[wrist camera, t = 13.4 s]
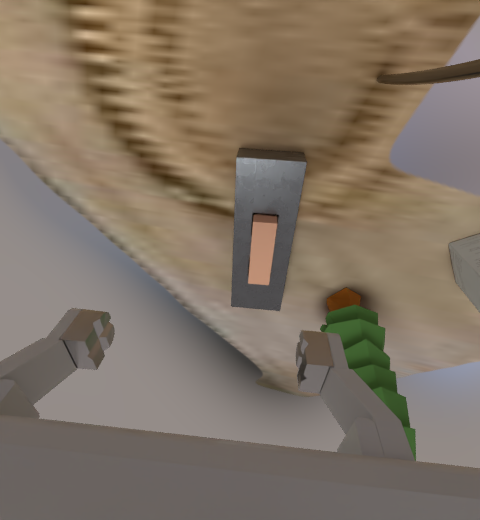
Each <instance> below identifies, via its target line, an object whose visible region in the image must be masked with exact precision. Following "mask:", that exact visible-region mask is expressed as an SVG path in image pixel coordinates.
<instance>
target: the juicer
mask: <svg viewBox="0 0 480 520" xmlns="http://www.w3.org/2000/svg"><path fill="white" fill-rule="evenodd" d="M477 77H480V59H479V60H474V61H471V62H466V63H461V64H456V65H451V66H446V67H441V68H436V69H430V70H424V71H417V72H410V73H401V74H387V75H380V76H378V78H377V82H378V83H384V84H394V85H421V84H434V83H443V82H451V81H458V80H465V79H471V78H477Z"/></svg>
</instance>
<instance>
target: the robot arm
mask: <svg viewBox="0 0 480 520" xmlns="http://www.w3.org/2000/svg"><path fill="white" fill-rule="evenodd" d="M109 320H110V315H109V313H108V312H102V311H94V310H86V309H76V308H72V309H70V310H68V311H67V313H66V314H65V315H64V317H63V318H62V319H61V320H60V321H59V323H58V324H57V325H56V327H55V328H54V329H53V330H52V331H51V333H50V334H49V335H48V336H47V338H42V339H40V340H38V341H36V342H35V343H33V344H31V345H29V346H28V347H26V348H24V349H22V350H20V351H19V352H17V353H15V354H13V355H11V356H10V357H8V358H6V359H4V360H2V361H1V362H0V520H480V468H472V467H463V466H455V465H446V464H437V463H427V462H418V461H415V459H414V456H413V454H412V451H411V448H410V445H409V442H408V440H407V437H406V434H405V431H404V429H403V426H402V423H401V421H400V420H399V419H398V418H397V416H396V415H395V414H394V413H393V412H392V411H391V410H390V409H389V408H388V407H387V406H386V405H385V404H384V403H383V401H382V400H381V399H380V398H379V397H378V396H377V395H376V394H375V393H374V392H373V391H372V390H371V389H370V388H369V387H368V385H367V384H366V383H365V382H364V381H363V380H362V379H361V378H360V377H359V376H358V375H357V374H356V373H355V372H354V370H353V369H349V368H348V364H347V360H346V357H345V353H344V349H343V345H342V341H341V337H340V335H339V334H337V333H325V332H316V331H304V330H302V331H301V332H300V336H299V337H300V342H298V344H297V348H296V366H297V367H298V368H299V371H298V374H297V379H298V389H299V391H303V392H311V393H318V394H320V396H321V397H322V399H323V401H324V402H325V404H326V405H327V407H328V408H329V410H330V411H331V413H332V414H333V416H334V417H335V419H336V420H337V422H338V423H339V425H340V427H341V428H342V430H343V431H344V433H345V434H346V436H345V438H344V439H343V441H342V443H341V444H340V446H339V448H338V449H337V452H330V451H321V450H312V449H303V448H294V447H285V446H277V445H268V444H259V443H251V442H242V441H233V440H224V439H215V438H207V437H198V436H189V435H180V434H171V433H163V432H153V431H145V430H136V429H127V428H118V427H109V426H100V425H92V424H83V423H74V422H65V421H56V420H47V419H39V413H38V411H37V410H36V409H35V407H34V406H33V405H34V404H35V403H36V402H37V401H38V400H40V399H41V398H42V397H43V396H45V395H46V394H47V393H48V392H50V391H51V390H52V389H53V388H54V387H56V386H57V385H58V384H59V383H61V382H62V381H63V380H64V379H66V378H67V377H68V376H69V375H70V374H72V373H73V372H74V371H75V370H77V369H76V368H81V369H93V370H97V369H98V367H99V365H100V363H101V361H102V360H103V358H104V356H105V355H104V350H106V349H107V348H109V347H110V345H111V343H112V341H113V338H114V326H113V325H112V324H111V323H110V322H109Z"/></svg>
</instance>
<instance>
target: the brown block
mask: <svg viewBox="0 0 480 520" xmlns="http://www.w3.org/2000/svg"><path fill="white" fill-rule="evenodd" d="M276 230H277V216H274V214H263V213H256V215H255V214H254V216H253V227H252V240H251V252H250V265H249V277H248V284H260V285H269V281H270V273H271V266H272V259H273V252H274V244H275V237H276Z"/></svg>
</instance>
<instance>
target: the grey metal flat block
mask: <svg viewBox="0 0 480 520" xmlns="http://www.w3.org/2000/svg"><path fill="white" fill-rule="evenodd" d="M306 164H307V161H306V158H305V156H304V153H303V152H289V151H274V150H260V149H245V148H239V151H238V155H237V160H236V188H235V215H234V243H233V270H232V298H231V306H232V307H243V308H253V309H264V310H275V311H280V308H281V302H282V297H283V291H284V286H285V280H286V275H287V269H288V264H289V258H290V252H291V247H292V241H293V236H294V230H295V225H296V219H297V214H298V208H299V203H300V197H301V192H302V186H303V181H304V175H305V170H306ZM253 213H263V214H276V216H277V230H276V237H275V244H274V252H273V259H272V266H271V273H270V281H269V285H260V284H248V277H249V265H250V260H249V257H250V252H251V240H252V227H253V222H252V217H253Z"/></svg>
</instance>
